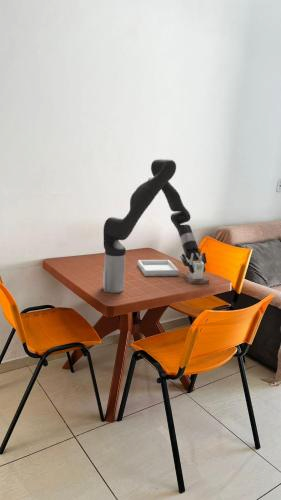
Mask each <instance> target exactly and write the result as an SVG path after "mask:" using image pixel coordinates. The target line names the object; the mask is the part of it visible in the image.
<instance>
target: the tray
mask: <svg viewBox="0 0 281 500" xmlns="http://www.w3.org/2000/svg"><path fill="white" fill-rule="evenodd" d="M137 267H138V269H139V270H140V271H141V272H142V274H143V275H144V277H169V276H170V277H174V276H179V275H180V274H179V273H180V270H179V268H177V267H176V265H174V264H173V263H172V261H171V260H169V259H138V260H137Z"/></svg>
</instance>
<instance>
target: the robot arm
mask: <svg viewBox="0 0 281 500" xmlns="http://www.w3.org/2000/svg"><path fill="white" fill-rule="evenodd" d="M150 171H151V174H152V176H153V177H152V178H150V179H148V180H147V181H144V182H143V183H142V184H140V185H138V186H137V188H136V189H135V190H134V192H133V193H132V194H131V196H130V200H129V211H128V213H127V214H126V216H125V217H123V218H120V217H119V218H118V217H113V216H111V217H108V218H107V219H105V221H104V225H103V232H102V233H103V249H104V265H103V266H104V267H103V270H102V271H103V273H102V289H103V291H104V293H112V294H116V293H117V294H118V293H121V292H123V291H124V290H125V272H126V271H125V270H126V269H125V267H126V253H127V251H126V247H125V246H124V245H123V244H122V243H121V242H120V241H125V240H127V239H128V238H129V236H130V235H131V234H132V232H133V230H134V228H135V227H136V225H137V223H138V221H139V220H140V218H141V217H142V216H143V214H144V213H145V211H146V210H147V209H148V207H149V206H150V205H151V204H152V202H153V200H154V199H155V198H156V197H157V196H158V194H159V193H160V191H162V192H163V194H164V196H165V199H166V201H167V204H168V207H169V209H170V210H171V211H172V212H173V213H171V215H170V220H171V223H172V224H173V225H174V227H175V228H176V230H177V232H178V235H179V238H180V243H181V246H182V249H183V253H181V255H180V260H181V263H183V266H184V267H188V269H189V273H190V272H191V273H194V268H193V265H192V261H201V262H203V263H204V270H203V274H204V273H205V272H206V266H205V265H206V264H207V263H208V262H207V256H206V253H205V252H203V253H201V252H200V251H199V245H198V243H197V240H196V238H195V236H194V234H193V230H192V227H191V226H190V224H188V222H189V221H190V220H191V218H192V217H191V213H190V211H189V210H188V209H187V208H186V207H185V206H184V203H183V202H182V198H181V196H180V194H179V192H178V191H177V189H176V188H175V187H174V186H173V185H172V184H171V183H170V182H169V181H170V180H171V179H172V178H173V177H174V175H175V173H176V172H177V163H176V162H175V161H174V160H173V159H170V158H155V159H154V160H152V163H151V165H150ZM186 223H187V224H186Z"/></svg>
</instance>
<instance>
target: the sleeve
mask: <svg viewBox="0 0 281 500" xmlns="http://www.w3.org/2000/svg"><path fill="white" fill-rule="evenodd" d="M192 265H193V268H194V273H191V272H190V271H189V274H190V276H191V277H192V278H193V279H202V278H203V276H204V273H203V270H204V266H205V265H204V263H203V262H201V261H199V260H198V261H192Z"/></svg>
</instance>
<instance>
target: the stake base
mask: <svg viewBox="0 0 281 500" xmlns="http://www.w3.org/2000/svg"><path fill="white" fill-rule="evenodd" d="M182 277H183V278H184V279H185V281H187V282H188V283H189V284H196V285H197V284H209V283H210V280H209V279H208V278H207V277H206V276H205V275H203V278H202V279H193V278H192V277H191V276H190V273H183V275H182Z"/></svg>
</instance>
